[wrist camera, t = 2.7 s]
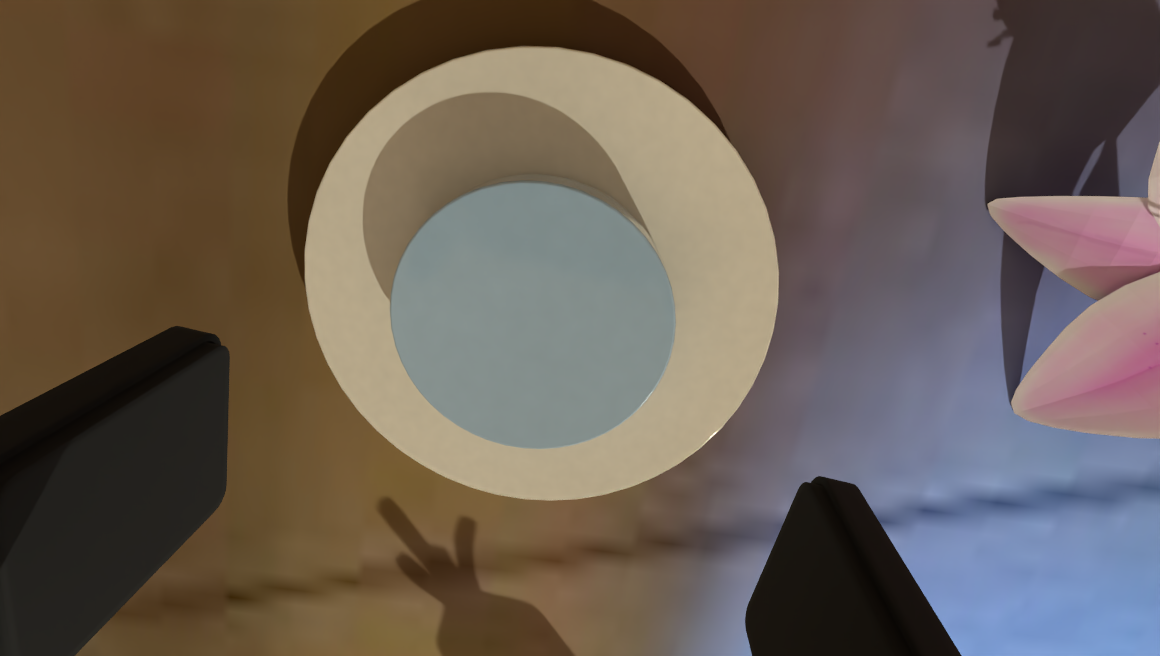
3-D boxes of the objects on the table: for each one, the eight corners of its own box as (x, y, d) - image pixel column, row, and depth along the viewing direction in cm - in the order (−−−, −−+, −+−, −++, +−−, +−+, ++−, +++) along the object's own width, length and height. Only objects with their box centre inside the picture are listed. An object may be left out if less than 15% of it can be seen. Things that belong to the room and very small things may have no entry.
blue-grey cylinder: (426, 141, 15) (407, 147, 14) (704, 208, 16) (714, 221, 14) (394, 390, 18) (374, 417, 16) (631, 443, 18) (633, 475, 17)
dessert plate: (341, -9, 15) (320, -16, 14) (839, 117, 16) (857, 119, 15) (308, 429, 20) (291, 450, 19) (691, 515, 21) (696, 539, 19)
